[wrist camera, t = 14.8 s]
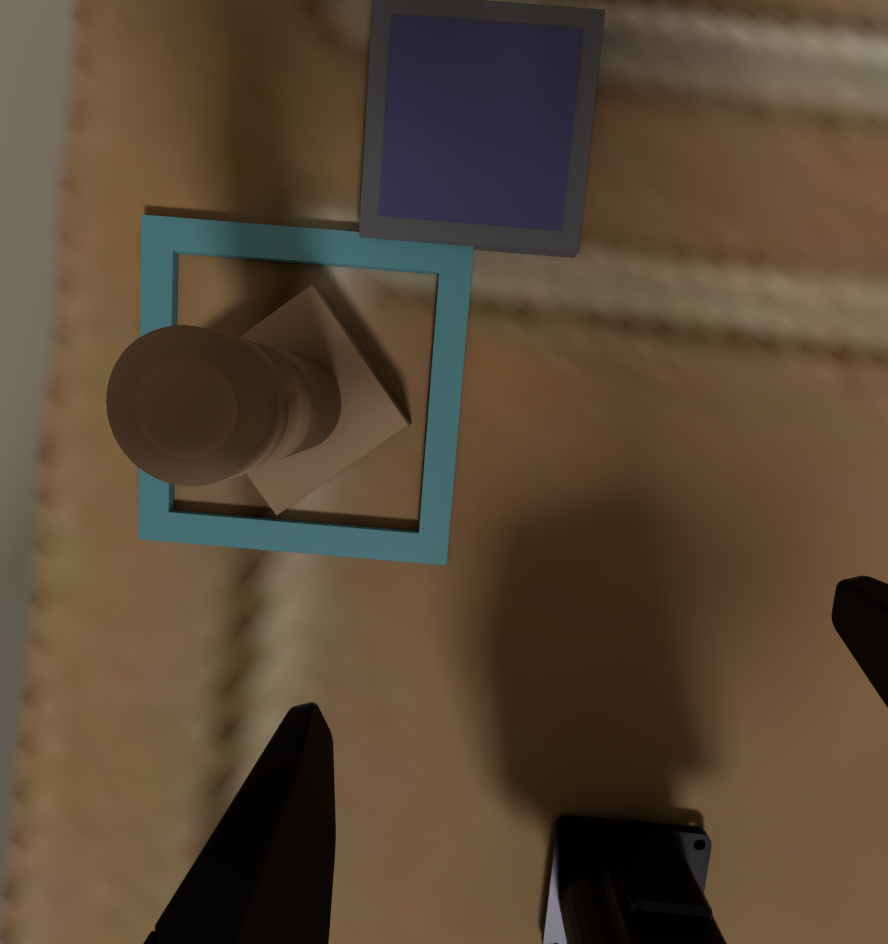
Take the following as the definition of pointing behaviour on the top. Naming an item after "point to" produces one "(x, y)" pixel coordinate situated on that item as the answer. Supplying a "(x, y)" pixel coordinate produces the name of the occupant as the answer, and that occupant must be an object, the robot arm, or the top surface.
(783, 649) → the top surface
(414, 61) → the ink pad
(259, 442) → the stamp
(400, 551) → the frame
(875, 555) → the top surface
